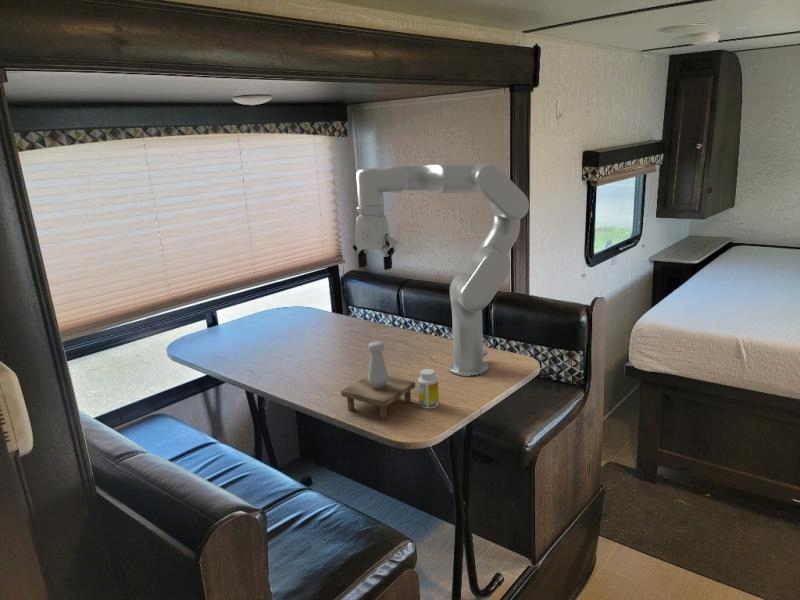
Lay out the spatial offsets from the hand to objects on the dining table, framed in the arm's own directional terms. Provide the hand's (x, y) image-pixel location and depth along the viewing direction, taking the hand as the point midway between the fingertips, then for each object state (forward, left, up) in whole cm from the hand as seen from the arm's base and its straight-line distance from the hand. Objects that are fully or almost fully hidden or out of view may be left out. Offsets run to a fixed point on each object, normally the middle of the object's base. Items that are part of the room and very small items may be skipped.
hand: (375, 267), depth 173 cm
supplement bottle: (+9, +23, -36) cm, 44 cm away
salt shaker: (+16, +11, -31) cm, 36 cm away
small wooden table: (+16, +11, -36) cm, 41 cm away
